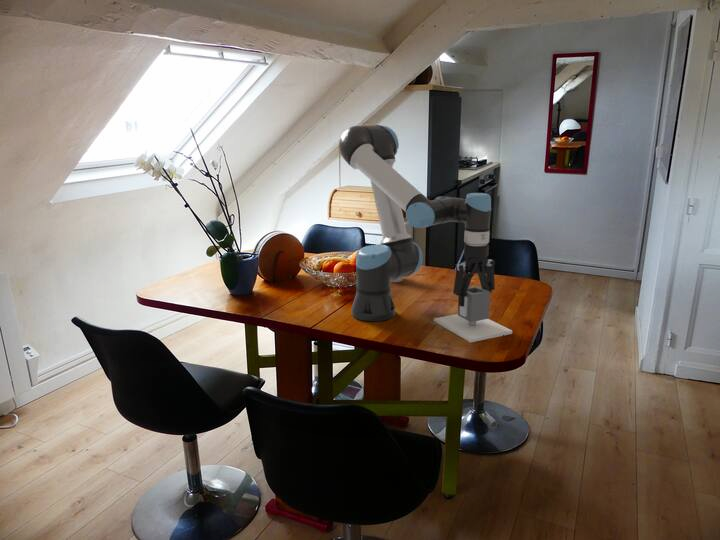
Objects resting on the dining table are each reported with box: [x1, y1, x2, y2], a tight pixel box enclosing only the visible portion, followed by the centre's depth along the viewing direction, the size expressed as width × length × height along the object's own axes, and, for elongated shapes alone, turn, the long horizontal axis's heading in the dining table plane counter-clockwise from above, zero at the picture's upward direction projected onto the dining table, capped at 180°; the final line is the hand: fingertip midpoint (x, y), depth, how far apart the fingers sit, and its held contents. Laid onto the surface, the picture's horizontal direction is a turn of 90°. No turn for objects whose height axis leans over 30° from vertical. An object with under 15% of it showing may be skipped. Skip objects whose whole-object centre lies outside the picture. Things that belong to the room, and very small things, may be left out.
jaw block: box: [457, 285, 491, 322], centre depth 175 cm, size 7×7×9 cm
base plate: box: [433, 313, 513, 344], centre depth 177 cm, size 16×20×7 cm
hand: (473, 313), depth 176 cm, fingers closed on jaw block, 7 cm apart
